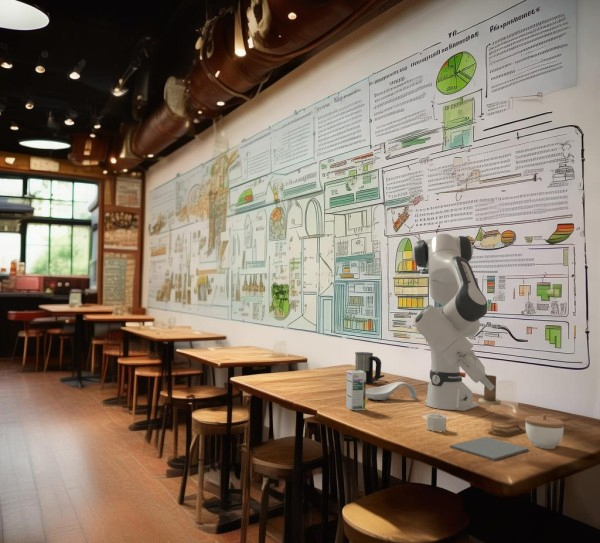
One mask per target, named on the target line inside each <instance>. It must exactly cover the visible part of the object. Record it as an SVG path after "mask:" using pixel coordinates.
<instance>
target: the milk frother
mask: <svg viewBox="0 0 600 543" xmlns="http://www.w3.org/2000/svg"><path fill="white" fill-rule="evenodd" d="M354 353H355V362H354V363H355V364H354V365H355V366H354V367H355V368H354V369H355V370H354V371H357V370H361V371H364V372H366V384H373V383H374V382H373V381H378V380H380V379H382V378H384V377H385V375H384V374H381V372H382V371H381V370H382V361H381V359H380V358H379V357H378V356H374V353H373V352H370V351H369V352H367V351H366V352H365V351H357V352H354ZM374 362H375V372H374Z"/></svg>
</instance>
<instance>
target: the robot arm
mask: <svg viewBox="0 0 600 543" xmlns="http://www.w3.org/2000/svg"><path fill="white" fill-rule="evenodd" d="M473 254H474V245H473V243H472V241H471V239H470V238H469V237H468V236H464V235H458V236H452V235H451V234H449V233H439V234H436V235H435V236H433V237H432V238H430V239H425V240H424V239H421V240H418V241H416V242H415V243H414V244H413V247H412V251H411V256H412V260H413V261H414V264H415V265H416V266H417V267H418V268H428V283H429V285H428V286H429V294H430V297H431V299H432V300H433V301H434V302H437V303H438V304H440V305H441V306H440V307H438V306H437V307H436V306H434V305H432V304H428V305H426V306H425V307H423V309H421V310H419V311H418V312H417V314H416V315H415V318H414V326H415V328H416V331H418V333H419V334H421V335H422V336H423V338H424V339H425V340H426V342H427V343H428V346H429V349H430V350H429V351H430V359H431V361H430V362H431V364H430V365H431V367H430V368H431V369H430V370H429V379H430V381H429V382H428V386H427V393H426V399H425V400H424V403H425V405H426V406H428V407H431V408H435V409H439V410H450V411H461V412H462V411H463V412H465V411H468V410H471V409H473V408H476V407H479V402H475V401H473V393H472V392H473V391H472V390H471V389H470V388H469V386H467V385H466V384H465V383H464V382H463V378H464V379H465V378H466V376H468V377H469V378H470V380H472V381H473V382H474V383H475V384H478V383H479V382H480V383H481V384H482V385H483V386H484V385H485V386H486V387H487V388H488V389H489V390H490V391H491V390H493V389H494V385H493V384H492V383H491V382H490V381H489V380H488V379H487V377H486V376H485V375H488V374H487V373H486V367H485V365H484V363H482V361H481V360H480V359H479V357H478V356H477V355H476V354H475V352H474V351H473V348H474V345H473V344H472V343H471V341H469V340H468V338H471V337H475V336H476V335H477V333H478V332H479V330H480V326H481V325H480V323H481V322H480V320H481V318H483V317H485V316H486V314H487V313H488V305H489V304H488V300H487V299H486V296H485V294H484V293H483V292H482V290H481V288H480V286H479V283H478V281H477V278H476V275H475V274H474V271H473V269H472V266H471V264H470V263H469V262H471V260H472V257H473ZM460 369H462V370H463V371H464V372H463V371H461V370H460Z"/></svg>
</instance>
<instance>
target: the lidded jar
mask: <svg viewBox="0 0 600 543" xmlns="http://www.w3.org/2000/svg"><path fill="white" fill-rule="evenodd" d="M524 422H525V423H524V424H525V427H524V428H525V432H526V433H525V434H526V437H527V438H528V440H529V441H530V442H531V443H532V445H533V446H534V447H536V448H540V449H546V450H548V449H549V450H553V449H556V447H557V446H558V445H559V444H560V443H562V440H563V437H564V431H565V429H564V426H565V422H564V421H563V420H561V419H557V418H554V417H549V416H547V414H545V413H542V415H541V416H540V415H529V416H528V415H527V416H525V418H524Z"/></svg>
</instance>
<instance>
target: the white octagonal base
mask: <svg viewBox="0 0 600 543" xmlns="http://www.w3.org/2000/svg"><path fill="white" fill-rule="evenodd" d="M425 420H426V425H425V426H426V430H427V429H429V430H432V431H445V432H446V430H447V416H446V415H443V414H439V413H428V414H426V419H425ZM429 430H428V431H429ZM432 431H431V432H432Z"/></svg>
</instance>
